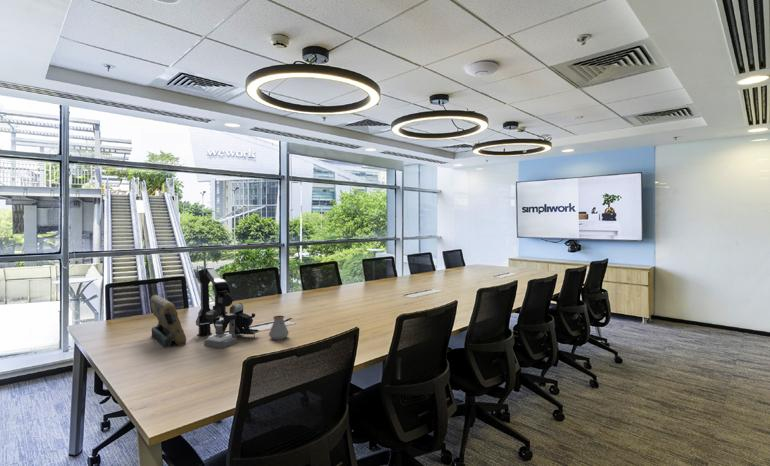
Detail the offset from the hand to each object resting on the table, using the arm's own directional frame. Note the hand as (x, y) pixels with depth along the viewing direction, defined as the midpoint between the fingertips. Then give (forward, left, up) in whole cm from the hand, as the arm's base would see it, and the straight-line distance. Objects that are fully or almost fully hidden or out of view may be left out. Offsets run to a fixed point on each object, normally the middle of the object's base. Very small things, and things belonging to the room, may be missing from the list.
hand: (220, 330), depth 224 cm
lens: (0, 0, -1) cm, 1 cm away
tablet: (-33, -7, -8) cm, 35 cm away
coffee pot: (+27, +21, -8) cm, 35 cm away
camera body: (0, 0, -8) cm, 8 cm away
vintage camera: (+3, +16, -8) cm, 18 cm away
